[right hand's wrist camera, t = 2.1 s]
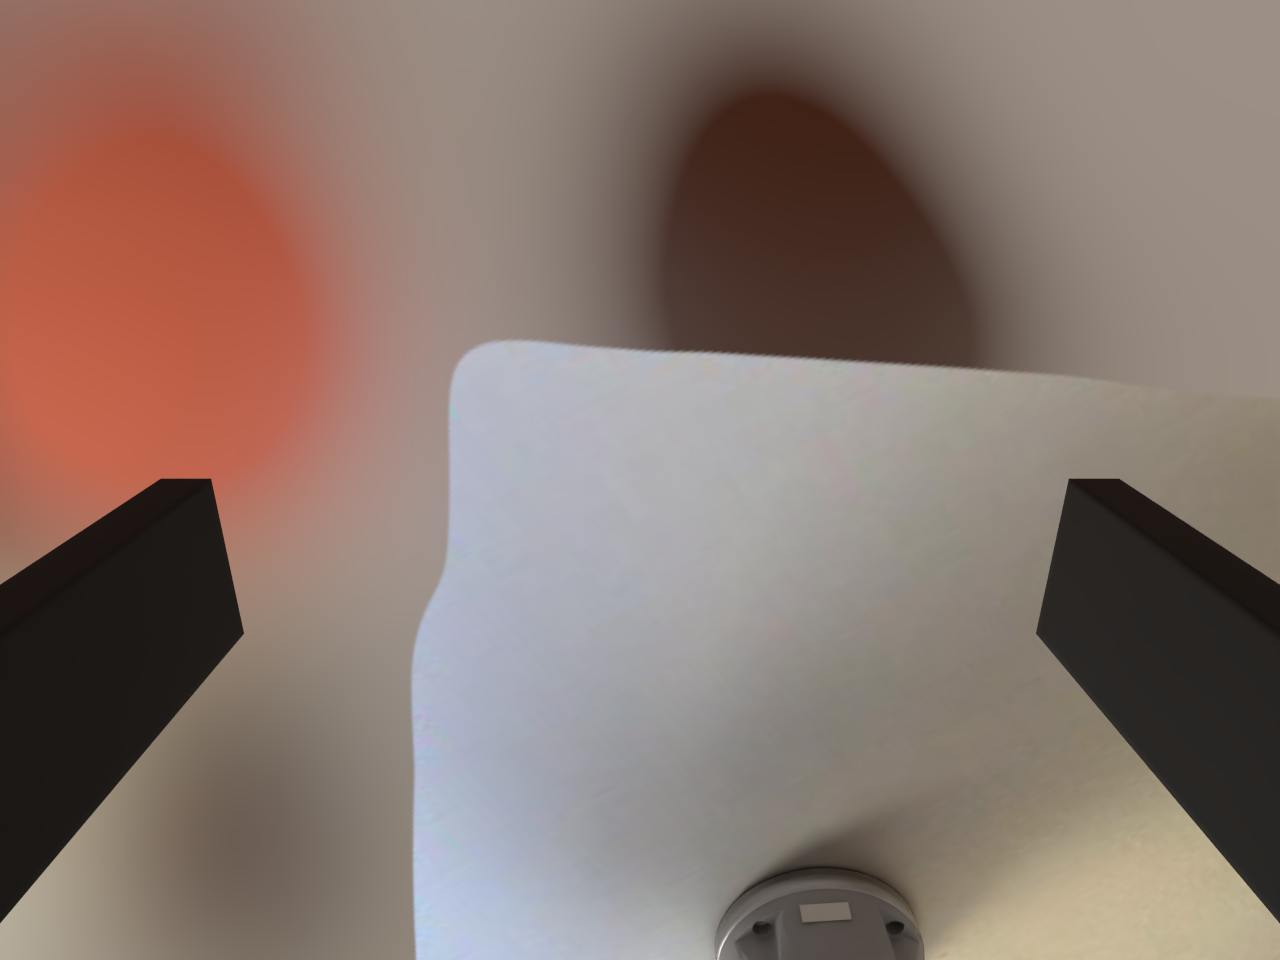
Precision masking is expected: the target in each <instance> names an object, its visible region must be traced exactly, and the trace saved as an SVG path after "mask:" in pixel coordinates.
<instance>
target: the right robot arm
mask: <svg viewBox="0 0 1280 960" xmlns="http://www.w3.org/2000/svg"><path fill="white" fill-rule="evenodd" d="M243 634H244V632H243V627H242V622H241V617H240V613H239V608H238V603H237V599H236V594H235V589H234V585H233V580H232V575H231V570H230V566H229V561H228V556H227V552H226V547H225V542H224V537H223V533H222V528H221V523H220V519H219V514H218V509H217V504H216V500H215V495H214V490H213V486H212V481H211V479H160V480H158V481H157V482H155V483H154V484H152V485H151V486H149V487H148V488H146V489H145V490H143V491H142V492H140V493H139V494H137V495H136V496H134V497H133V498H131V499H130V500H128V501H127V502H125V503H124V504H122V505H120V506H119V507H117V508H116V509H114V510H113V511H111V512H110V513H108V514H107V515H105V516H104V517H102V518H101V519H99V520H98V521H96V522H95V523H93V524H92V525H90V526H89V527H87V528H86V529H84V530H83V531H81V532H79V533H78V534H76V535H75V536H74V537H72V538H70V539H69V540H67V541H66V542H64V543H63V544H61V545H60V546H58V547H57V548H55V549H54V550H52V551H51V552H49V553H48V554H46V555H45V556H43V557H42V558H40V559H39V560H37V561H36V562H34V563H32V564H31V565H29V566H28V567H26V568H25V569H23V570H22V571H20V572H19V573H17V574H16V575H14V576H13V577H11V578H10V579H8V580H7V581H5V582H4V583H2V584H1V585H0V923H1V922H2V920H3V919H4V918H5V917H6V916H7V915H8V913H9V912H10V911H11V910H12V909H13V907H14V906H15V905H16V904H17V903H18V901H19V900H20V899H21V898H22V897H23V895H24V894H25V893H26V892H27V891H28V889H29V888H30V887H31V886H32V885H33V884H34V882H35V881H36V880H37V879H38V878H39V876H40V875H41V874H42V873H43V872H44V871H45V869H46V868H47V867H48V866H49V865H50V863H51V862H52V861H53V860H54V859H55V857H56V856H57V855H58V854H59V853H60V851H61V850H62V849H63V848H64V847H65V846H66V844H67V843H68V842H69V841H70V840H71V838H72V837H73V836H74V835H75V834H76V832H77V831H78V830H79V829H80V828H81V827H82V825H83V824H84V823H85V822H86V821H87V819H88V818H89V817H90V816H91V815H92V813H93V812H94V811H95V810H96V809H97V807H98V806H99V805H100V804H101V803H102V802H103V800H104V799H105V798H106V797H107V796H108V794H109V793H110V792H111V791H112V790H113V788H114V787H115V786H116V785H117V784H118V783H119V781H120V780H121V779H122V778H123V777H124V775H125V774H126V773H127V772H128V771H129V770H130V768H131V767H132V766H133V765H134V764H135V762H136V761H137V760H138V759H139V758H140V756H141V755H142V754H143V753H144V752H145V750H146V749H147V748H148V747H149V746H150V745H151V743H152V742H153V741H154V740H155V739H156V737H157V736H158V735H159V734H160V733H161V731H162V730H163V729H164V728H165V727H166V726H167V724H168V723H169V722H170V721H171V720H172V718H173V717H174V716H175V715H176V714H177V712H178V711H179V710H180V709H181V708H182V707H183V705H184V704H185V703H186V702H187V701H188V699H189V698H190V697H191V696H192V695H193V693H194V692H195V691H196V690H197V689H198V688H199V686H200V685H201V684H202V683H203V682H204V680H205V679H206V678H207V677H208V676H209V674H210V673H211V672H212V671H213V670H214V668H215V667H216V666H217V665H218V664H219V662H220V661H221V660H222V659H223V658H224V657H225V655H226V654H227V653H228V652H229V651H230V649H231V648H232V647H233V646H234V645H235V644H236V642H237V641H238V640H239V639H240V638H241V636H242V635H243ZM1036 634H1037V635H1038V636H1039V638H1040V639H1041V640H1042V641H1043V642H1044V644H1045V645H1046V646H1047V647H1048V648H1049V649H1050V651H1051V652H1052V653H1053V654H1054V655H1055V657H1056V658H1057V659H1058V660H1059V661H1060V663H1061V664H1062V665H1063V666H1064V667H1065V669H1066V670H1067V671H1068V672H1069V673H1070V674H1071V676H1072V677H1073V678H1074V679H1075V680H1076V682H1077V683H1078V684H1079V685H1080V686H1081V688H1082V689H1083V690H1084V691H1085V692H1086V693H1087V695H1088V696H1089V697H1090V698H1091V699H1092V701H1093V702H1094V703H1095V704H1096V705H1097V707H1098V708H1099V709H1100V710H1101V711H1102V712H1103V714H1104V715H1105V716H1106V717H1107V718H1108V720H1109V721H1110V722H1111V723H1112V724H1113V726H1114V727H1115V728H1116V729H1117V730H1118V731H1119V733H1120V734H1121V735H1122V736H1123V737H1124V739H1125V740H1126V741H1127V742H1128V743H1129V745H1130V746H1131V747H1132V748H1133V749H1134V751H1135V752H1136V753H1137V754H1138V755H1139V756H1140V758H1141V759H1142V760H1143V761H1144V762H1145V764H1146V765H1147V766H1148V767H1149V768H1150V770H1151V771H1152V772H1153V773H1154V774H1155V775H1156V777H1157V778H1158V779H1159V780H1160V781H1161V783H1162V784H1163V785H1164V786H1165V787H1166V789H1167V790H1168V791H1169V792H1170V793H1171V794H1172V796H1173V797H1174V798H1175V799H1176V800H1177V802H1178V803H1179V804H1180V805H1181V806H1182V808H1183V809H1184V810H1185V811H1186V812H1187V813H1188V815H1189V816H1190V817H1191V818H1192V819H1193V821H1194V822H1195V823H1196V824H1197V825H1198V827H1199V828H1200V829H1201V830H1202V831H1203V833H1204V834H1205V835H1206V836H1207V837H1208V838H1209V840H1210V841H1211V842H1212V843H1213V844H1214V846H1215V847H1216V848H1217V849H1218V850H1219V852H1220V853H1221V854H1222V855H1223V856H1224V857H1225V859H1226V860H1227V861H1228V862H1229V863H1230V865H1231V866H1232V867H1233V868H1234V869H1235V871H1236V872H1237V873H1238V874H1239V875H1240V876H1241V878H1242V879H1243V880H1244V881H1245V882H1246V884H1247V885H1248V886H1249V887H1250V888H1251V890H1252V891H1253V892H1254V893H1255V894H1256V896H1257V897H1258V898H1259V899H1260V900H1261V901H1262V903H1263V904H1264V905H1265V906H1266V907H1267V909H1268V910H1269V911H1270V912H1271V913H1272V915H1273V916H1274V917H1275V918H1276V919H1277V920H1278V922H1279V923H1280V585H1279V584H1278V583H1276V582H1275V581H1273V580H1272V579H1270V578H1269V577H1267V576H1266V575H1264V574H1263V573H1261V572H1260V571H1258V570H1257V569H1255V568H1254V567H1252V566H1251V565H1249V564H1248V563H1246V562H1244V561H1243V560H1241V559H1240V558H1238V557H1237V556H1235V555H1234V554H1232V553H1231V552H1229V551H1228V550H1226V549H1225V548H1223V547H1222V546H1220V545H1219V544H1217V543H1216V542H1214V541H1213V540H1211V539H1210V538H1208V537H1207V536H1205V535H1204V534H1202V533H1201V532H1199V531H1197V530H1196V529H1194V528H1193V527H1191V526H1190V525H1188V524H1187V523H1185V522H1184V521H1182V520H1181V519H1179V518H1178V517H1176V516H1175V515H1173V514H1172V513H1170V512H1169V511H1167V510H1166V509H1164V508H1163V507H1161V506H1160V505H1158V504H1157V503H1155V502H1154V501H1152V500H1150V499H1149V498H1147V497H1146V496H1144V495H1143V494H1141V493H1140V492H1138V491H1137V490H1135V489H1134V488H1132V487H1131V486H1129V485H1128V484H1126V483H1125V482H1123V481H1122V480H1120V479H1069V481H1068V486H1067V490H1066V495H1065V500H1064V504H1063V509H1062V514H1061V519H1060V523H1059V528H1058V533H1057V537H1056V542H1055V547H1054V552H1053V556H1052V561H1051V566H1050V570H1049V575H1048V580H1047V584H1046V589H1045V594H1044V599H1043V603H1042V608H1041V613H1040V617H1039V622H1038V627H1037V631H1036ZM715 954H716V960H925V954H924V945H923V941H922V938H921V935H920V932H919V929H918V926H917V924H916V921H915V918H914V915H913V913H912V911H911V909H910V908H909V906H908V904H907V903H906V902H905V900H904V899H903V898H902V897H901V896H900V895H899V894H898V893H897V892H896V891H895V890H893V889H892V888H891V887H889V886H888V885H886V884H885V883H883V882H881V881H879V880H877V879H875V878H873V877H870V876H868V875H865V874H862V873H858V872H854V871H849V870H844V869H835V868H814V869H804V870H799V871H793V872H789V873H786V874H782V875H779V876H776V877H773V878H771V879H769V880H766V881H764V882H762V883H760V884H759V885H757V886H755V887H753V888H752V889H750V890H749V891H747V892H746V893H745V894H743V895H742V896H741V897H740V898H739V899H738V900H737V901H736V902H734V904H733V905H732V906H731V907H730V908H729V909H728V911H727V912H726V914H725V915H724V917H723V919H722V920H721V922H720V925H719V927H718V930H717V934H716V939H715Z"/></svg>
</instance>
